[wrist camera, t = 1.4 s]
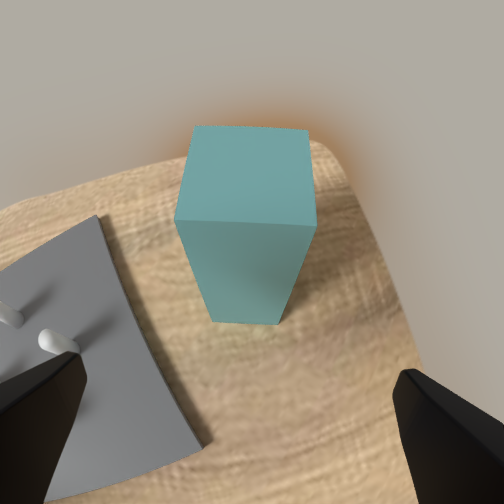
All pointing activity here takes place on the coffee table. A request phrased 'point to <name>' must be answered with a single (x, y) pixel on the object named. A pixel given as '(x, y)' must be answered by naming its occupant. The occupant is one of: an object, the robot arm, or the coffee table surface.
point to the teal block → (247, 218)
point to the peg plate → (92, 361)
